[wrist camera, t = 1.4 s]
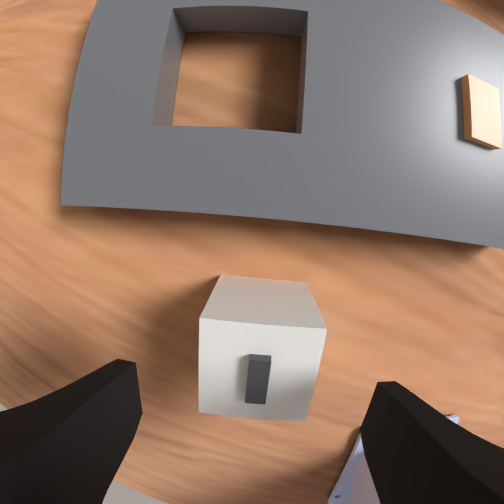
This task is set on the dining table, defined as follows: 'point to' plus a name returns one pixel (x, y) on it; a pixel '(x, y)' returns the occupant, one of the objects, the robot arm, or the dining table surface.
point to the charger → (259, 349)
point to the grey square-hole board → (300, 118)
